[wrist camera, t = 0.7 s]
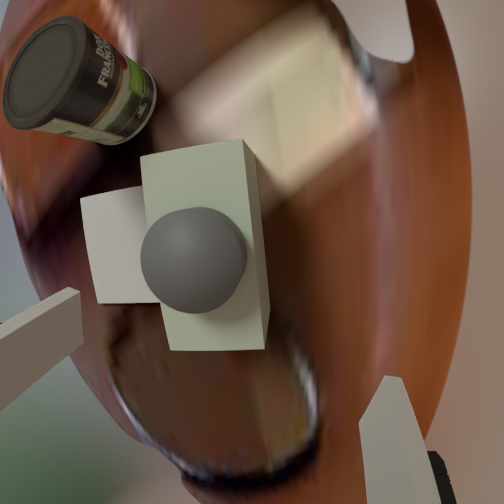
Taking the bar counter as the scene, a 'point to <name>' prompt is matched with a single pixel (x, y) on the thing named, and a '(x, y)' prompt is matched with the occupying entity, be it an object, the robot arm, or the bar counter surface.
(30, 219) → the bar counter surface
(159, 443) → the bar counter surface
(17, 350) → the robot arm
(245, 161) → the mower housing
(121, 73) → the coffee can
